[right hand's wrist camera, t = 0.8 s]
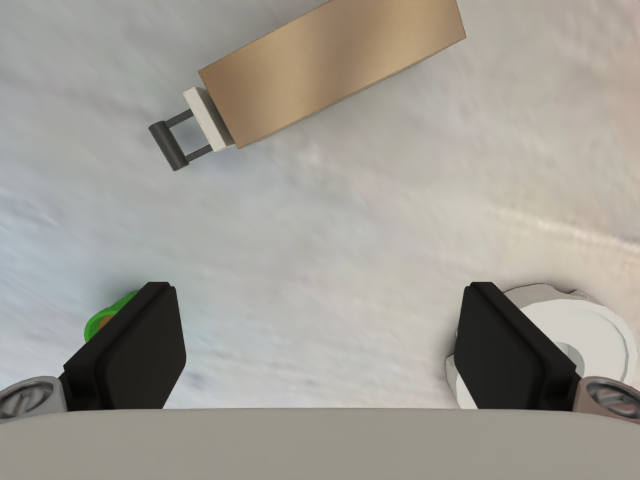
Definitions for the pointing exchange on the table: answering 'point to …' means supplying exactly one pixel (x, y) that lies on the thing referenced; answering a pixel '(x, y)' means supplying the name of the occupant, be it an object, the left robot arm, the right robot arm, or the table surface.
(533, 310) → the ashtray
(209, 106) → the drawer
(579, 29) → the table surface
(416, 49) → the tan elongated box
